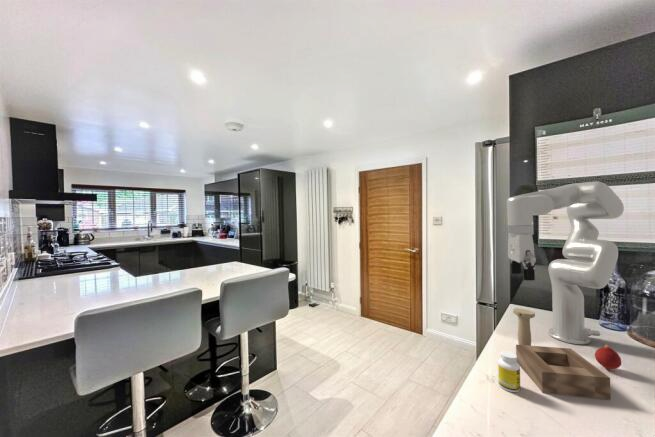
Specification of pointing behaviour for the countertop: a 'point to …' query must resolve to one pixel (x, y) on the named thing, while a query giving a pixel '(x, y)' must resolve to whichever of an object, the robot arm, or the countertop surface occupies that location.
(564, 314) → the robot arm
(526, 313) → the handle
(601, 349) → the onion
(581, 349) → the countertop surface
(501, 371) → the supplement bottle
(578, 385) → the well block
